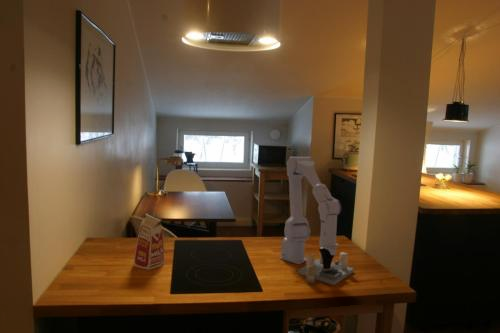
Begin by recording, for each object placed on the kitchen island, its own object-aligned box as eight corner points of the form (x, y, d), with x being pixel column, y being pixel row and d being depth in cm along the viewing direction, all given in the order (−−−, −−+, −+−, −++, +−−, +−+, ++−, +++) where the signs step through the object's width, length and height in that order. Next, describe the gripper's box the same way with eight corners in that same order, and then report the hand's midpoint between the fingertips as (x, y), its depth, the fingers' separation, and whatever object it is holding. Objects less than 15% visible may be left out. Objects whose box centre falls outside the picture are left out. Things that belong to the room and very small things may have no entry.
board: (298, 273, 143) (299, 254, 142) (319, 261, 156) (320, 244, 155) (334, 285, 133) (335, 265, 132) (353, 272, 146) (354, 253, 146)
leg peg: (304, 282, 135) (305, 266, 134) (308, 279, 137) (309, 264, 136) (311, 284, 133) (312, 268, 132) (315, 282, 135) (316, 266, 134)
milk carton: (133, 265, 143) (133, 215, 140) (149, 258, 151) (150, 210, 149) (150, 270, 138) (151, 219, 136) (167, 263, 147) (168, 214, 144)
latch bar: (337, 266, 143) (338, 262, 142) (341, 268, 140) (342, 264, 140) (318, 269, 139) (318, 264, 139) (321, 271, 137) (322, 266, 137)
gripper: (345, 237, 129) (343, 275, 130) (332, 227, 144) (330, 261, 144) (326, 237, 128) (324, 275, 129) (314, 227, 143) (313, 261, 144)
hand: (326, 268), depth 137 cm, fingers closed, pressing on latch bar
